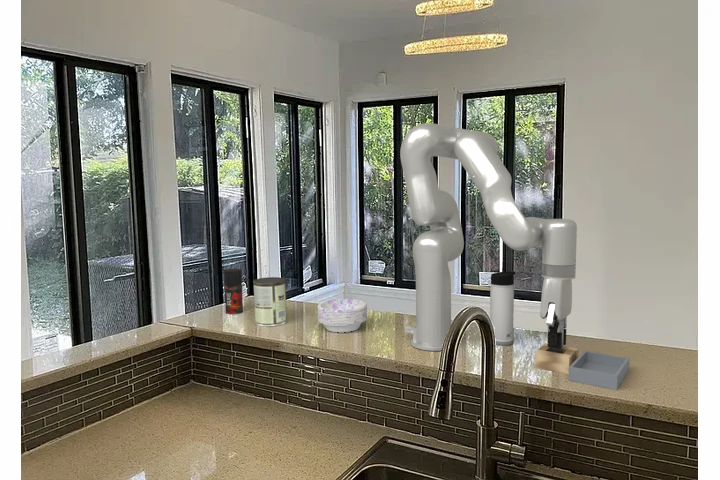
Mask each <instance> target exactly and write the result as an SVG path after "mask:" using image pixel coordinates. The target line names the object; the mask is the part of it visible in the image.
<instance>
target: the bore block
mask: <svg viewBox="0 0 720 480" xmlns="http://www.w3.org/2000/svg"><path fill="white" fill-rule="evenodd" d="M547 344H548V342H547V343H546V342H545V343H543V344H542V345H541V346H540V347H539V348H537V349H536V350H535V351H534V369H540V370H544V371H550V372H555V373H559V374H566V375H569V366H570V365H571V364H572V363H573V362H574V361H575V360H576V359H577V358H578V357H579V348H577V347H570V346H566V345H563V354H560V353H555V352H551V348H549V347H548V346H547Z"/></svg>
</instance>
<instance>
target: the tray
mask: <svg viewBox="0 0 720 480" xmlns="http://www.w3.org/2000/svg"><path fill="white" fill-rule="evenodd" d="M629 372H630V357H625V356H624V357H623V356H620V355H619V356H618V355H614V354H613V355H612V354H607V353H602V352H594V351H589V350H584V351H583V352H582V353H581V354H580V355H578V358H577V359H576V360H575V361H574V362H573V363H572V364H571V365H570V366H569V374H568V381H570V382H575V383H580V384H585V385H589V386H595V387H598V388H604V389H610V390H615V391H617V390H618V388H619V387H620V386H621V384H622V383H623V380H625V378H626V377H627V374H629Z"/></svg>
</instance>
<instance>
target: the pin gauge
mask: <svg viewBox="0 0 720 480" xmlns="http://www.w3.org/2000/svg"><path fill="white" fill-rule="evenodd" d="M557 318H558V317H554V319H557ZM564 319H565V318H564ZM564 319H563V320H561V333H562V348H561V349H555V348H551V352H555V353H560V354H563V346H564V345H563V338H564V329H565V328H564ZM555 323H556V324H557V323H558V322H555Z"/></svg>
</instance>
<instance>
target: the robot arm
mask: <svg viewBox="0 0 720 480" xmlns="http://www.w3.org/2000/svg"><path fill="white" fill-rule="evenodd" d="M498 152H499V144H498V141H497V139H496V138H495V137H494V136H493V135H492V134H490V133H489V132H485V131H481V130H473V129H472V130H470V129H465V128H459V127H455V126H449V125H443V124H438V123H434V122H433V123H432V122H430V123H429V122H427V123H426V122H425V123H421V124H417V125H415V126H413V127H412V128H411V129H410V130H409V131H408V132H407V133H406V134H405V136H404V138H403V139H402V141H401V146H400V151H399V153H400V154H399V155H400V162H401V163H400V164H401V166H402V173H403V175H404V181H405V188H406V193H407V198H408V205H409V211H410V214H411V218H412V220H413V221H414V223H415V224H417V225H419V226H422V227H428V226H429V229H430V230H428V231H424V232H423V233H421V234H419V235H418V236H417V238H416V239H414V240H415V241H414V243H413V245H412V258H413V264H414V271H415V326H414V325H410V324H407V325H406V326H405V328H404V329H405V330H404V333H405V334H408V335H411V336H412V337H411V339H410V345H411V346H412V348H416V349H419V350H422V351H433V352H439V351H440V352H442V351H441V349H442V344H443V341H444V338H445V336H446V334H447V332H448V330H449V327H450V325H451V326H452V279H451V272H450V267H449V262H452V261H455V260H457V259H458V258H459V257H460V256H461V254H462V253H463V252H464V251H463V250H464V245H465V241H464V234H463V228H462V223H461V217H460V212H459V208H458V207H459V206H458V204H457V202H456V200H455V198H454V196H453V195H452V194H450V193H449V192H448V191H445V190H441V189H440V188H439V184H438V179H437V177H438V176H437V174H436V173H437V172H436V170H435V168H434V165H433V164H432V161H431V157H440V158H442V157H443V158H448V159H453V160H457V161H459V163H460V164H461V165H462V168H464V170H465V171H466V173H467V174H468V176H469V177H470V179H471V180H472V182H473V183H474V185H475V187H476V188H477V190H478V192H479V194H480V195H481V199H482V203H483V207H484V209H485V212H486V215H487V217H488V219H489V221H490V223H491V225H492V226H493V229H494V230H495V231H496V233H497V234H498V236H499V237H500V239H501V240H502V241H503V243H504V244H505V245H506V246H507V247H509V248H510V249H511V250H514V251H519V252H521V251H526V250H529V249H532V248H536V247H542V248H541V249H542V251H541V252H542V256H541V257H542V259H541V261H542V262H541V278H543V281H542V282H543V283H542V287H541V299H540V301H541V302H540V312H539V313H540V315H539V316H540V319H543V320H545V319H546V318H547V319H546V326H547V346H548V347H549V348H555V349H561V348H562V333H561V320H563V319H564V318H565V319H564V338H563V346H566V344H567V321H568V320H567V317H568V316H569V315H570V314H572V313H571V312H572V307H573V306H572V305H573V281H572V280H575V279H576V275H577V274H576V270H577V269H576V267H577V236H578V235H577V234H578V233H577V232H578V227H577V223H576V221H575V220H574V219H568V218H551V219H548V218H541V217H537V216H535V217H534V216H528V217H525V215H524V214H523V213H522V211H521V210H520V208H519V206H518V205H517V203H516V201H515V199H514V197H513V194H512V188H511V187H512V181H513V180H512V176H511V173H510V172H509V171H508V169H507V168H506V166H505V164H503V162H502V160H501V159H500V157H499V156H498ZM554 317H558V318H557V319H554ZM555 322H558V323H557V324H556V323H555Z"/></svg>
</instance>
